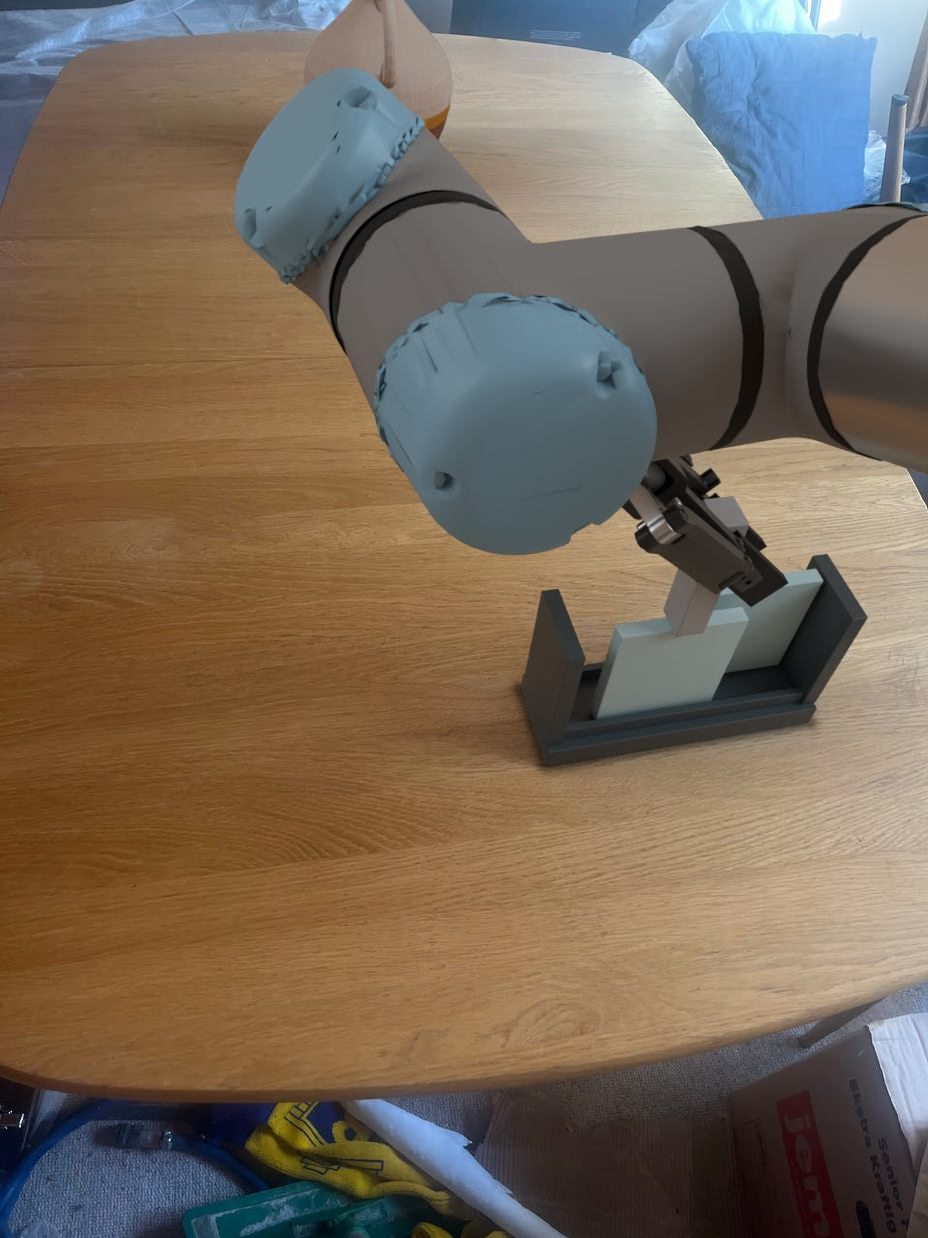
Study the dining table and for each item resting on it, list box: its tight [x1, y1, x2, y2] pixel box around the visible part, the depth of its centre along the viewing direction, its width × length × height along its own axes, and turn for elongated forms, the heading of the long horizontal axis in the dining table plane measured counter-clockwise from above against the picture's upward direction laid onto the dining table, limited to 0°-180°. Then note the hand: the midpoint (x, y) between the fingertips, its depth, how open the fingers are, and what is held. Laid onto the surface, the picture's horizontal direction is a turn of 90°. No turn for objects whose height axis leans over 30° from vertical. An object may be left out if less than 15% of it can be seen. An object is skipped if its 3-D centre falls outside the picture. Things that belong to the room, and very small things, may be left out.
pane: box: [590, 495, 750, 720], centre depth 63 cm, size 2×9×20 cm, turn 103°
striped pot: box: [303, 0, 454, 141], centre depth 112 cm, size 20×18×30 cm
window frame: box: [519, 553, 869, 768], centre depth 69 cm, size 7×21×12 cm, turn 103°
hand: (756, 572), depth 60 cm, fingers closed on pane, 2 cm apart
